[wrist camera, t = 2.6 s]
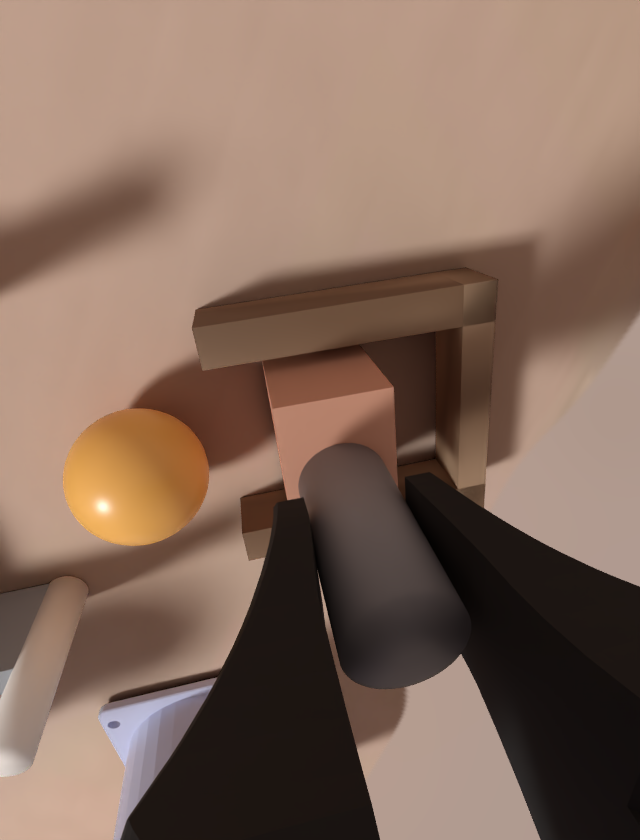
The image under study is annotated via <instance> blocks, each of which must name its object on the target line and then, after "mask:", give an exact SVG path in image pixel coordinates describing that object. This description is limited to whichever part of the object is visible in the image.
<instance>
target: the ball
mask: <svg viewBox="0 0 640 840" xmlns="http://www.w3.org/2000/svg"><path fill="white" fill-rule="evenodd" d="M208 482H209V465H208V460H207V456H206V453H205V451H204V448H203V446H202V444H201V442H200V440H199V439H198V438H197V436H196V435H195V434H194V432H193V431H192V430H191V429H190V428H189V427H188V426H187V425H185V424H184V423H183V422H182V421H180V420H178V419H177V418H175V417H173V416H171V415H169V414H166V413H164V412H161V411H157V410H152V409H144V408H133V409H125V410H121V411H117V412H114V413H111V414H109V415H106V416H104V417H102V418H100V419H99V420H97V421H96V422H94V423H93V424H91V425H90V426H89V427H88V428H87V429H86V430H85V431H83V432H82V433H81V435H80V436H79V437H78V439H77V440H76V441H75V443H74V444H73V446H72V448H71V449H70V451H69V454H68V456H67V459H66V462H65V467H64V473H63V487H64V493H65V498H66V500H67V503H68V506H69V508H70V510H71V512H72V513H73V515H74V516H75V518H76V519H77V520H78V521H79V523H80V524H81V525H82V526H83V527H84V528H85V529H87V530H88V531H89V532H90V533H92V534H93V535H95V536H97V537H99V538H101V539H103V540H105V541H108V542H111V543H115V544H119V545H128V546H139V545H147V544H152V543H156V542H159V541H161V540H164V539H166V538H168V537H170V536H172V535H174V534H175V533H177V532H178V531H180V530H181V529H182V528H183V527H184V526H186V525H187V524H188V523H189V522H190V521H191V520H192V518H193V517H194V516H195V515H196V513H197V512H198V510H199V509H200V507H201V505H202V503H203V501H204V498H205V496H206V492H207V489H208Z"/></svg>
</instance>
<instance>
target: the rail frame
mask: <svg viewBox="0 0 640 840" xmlns="http://www.w3.org/2000/svg"><path fill="white" fill-rule="evenodd" d="M497 286H498V279H495V278H493V277H490V276H487V275H485V274H482V273H479V272H477V271H474V270H471V269H469V268H460V269H453V270H447V271H441V272H434V273H428V274H421V275H415V276H409V277H402V278H396V279H389V280H383V281H377V282H370V283H364V284H357V285H351V286H344V287H338V288H332V289H325V290H319V291H312V292H306V293H300V294H293V295H287V296H280V297H274V298H267V299H261V300H255V301H248V302H242V303H235V304H229V305H223V306H216V307H210V308H203V309H197V310H196V311H195V316H194V321H193V326H192V331H193V335H194V339H195V343H196V347H197V351H198V355H199V359H200V363H201V367H202V371H205V370H211V369H217V368H222V367H228V366H234V365H240V364H246V363H252V362H258V361H264V360H270V359H276V358H281V357H287V356H293V355H299V354H305V353H311V352H317V351H323V350H329V349H334V348H340V347H346V346H352V345H358V344H364V343H370V342H376V341H382V340H388V339H393V338H399V337H405V336H411V335H417V334H423V333H429V332H435V331H436V459H433V460H428V461H423V462H418V463H413V464H408V465H403V466H398V467H397V476H398V489H399V490H400V492H401V494H402V496H403V497H404V499H405V477H407V476H412V475H417V474H422V473H427V472H430V473H432V474H433V475H435V476H437V477H438V478H439V479H441V480H442V481H444V482H445V483H447V484H448V485H450V486H451V487H453V488H454V489H456V490H457V491H458V492H460V493H461V494H463V495H464V496H466V497H467V498H469V499H470V500H472V501H473V502H475V503H476V504H478V505H479V506H481V507H482V508H484V496H485V480H486V464H487V448H488V431H489V415H490V399H491V383H492V367H493V350H494V334H495V318H496V302H497ZM240 499H241V517H242V534H243V538H244V542H245V546H246V551H247V555H248V559H249V561H250V560H254V559H259V558H264V557H266V553H267V549H268V546H269V541H270V536H271V530H272V524H273V507H274V506H275V505H276V503H277V502H282V501H287V496H286V491H285V489H283V490H278V491H273V492H268V493H263V494H258V495H253V496H248V497H243V498H240ZM405 501H406V500H405Z"/></svg>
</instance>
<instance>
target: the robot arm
mask: <svg viewBox="0 0 640 840" xmlns="http://www.w3.org/2000/svg"><path fill="white" fill-rule="evenodd" d="M405 500H406V503H407V505H408V506H409V508H410V510H411V512H412V513H413V515H414V517H415V519H416V521H417V522H418V524H419V526H420V528H421V529H422V531H423V533H424V535H425V537H426V538H427V540H428V542H429V544H430V545H431V547H432V549H433V551H434V553H435V554H436V556H437V558H438V560H439V561H440V563H441V565H442V567H443V569H444V570H445V572H446V574H447V576H448V577H449V579H450V581H451V583H452V585H453V586H454V588H455V590H456V592H457V594H458V595H459V597H460V599H461V601H462V602H463V604H464V606H465V608H466V610H467V611H468V613H469V616H470V619H471V634H470V638H469V641H468V643H467V645H466V647H465V648H464V650H463V651H462V653H461V654H462V656H463V658H464V660H465V662H466V663H467V665H468V667H469V669H470V671H471V673H472V675H473V677H474V679H475V681H476V683H477V685H478V688H479V690H480V692H481V695H482V697H483V699H484V702H485V704H486V706H487V709H488V711H489V713H490V715H491V718H492V720H493V723H494V725H495V727H496V729H497V732H498V734H499V737H500V739H501V741H502V744H503V746H504V749H505V751H506V754H507V756H508V759H509V761H510V763H511V766H512V768H513V771H514V773H515V776H516V778H517V780H518V783H519V785H520V788H521V791H522V793H523V796H524V798H525V801H526V803H527V806H528V808H529V811H530V814H531V816H532V819H533V821H534V824H535V826H536V829H537V831H538V834H539V836H540V839H541V840H640V587H639V586H636V585H634V584H631V583H629V582H626V581H624V580H621V579H619V578H616V577H614V576H611V575H609V574H607V573H604V572H602V571H599V570H597V569H595V568H593V567H590V566H588V565H586V564H584V563H582V562H580V561H578V560H576V559H574V558H571V557H569V556H567V555H565V554H563V553H561V552H559V551H557V550H555V549H553V548H551V547H549V546H547V545H545V544H543V543H541V542H540V541H538V540H536V539H534V538H532V537H531V536H529V535H527V534H525V533H524V532H522V531H520V530H518V529H517V528H515V527H513V526H511V525H510V524H508V523H506V522H505V521H503V520H501V519H500V518H498V517H497V516H495V515H493V514H492V513H490V512H489V511H487V510H486V509H484V508H482V507H481V506H479V505H478V504H476V503H475V502H473V501H472V500H470V499H469V498H467V497H466V496H464V495H463V494H461V493H460V492H458V491H457V490H456V489H454V488H453V487H451V486H450V485H448V484H447V483H445V482H444V481H442V480H441V479H439V478H438V477H437V476H435V475H433V474H432V473H430V472H427V473H422V474H417V475H412V476H407V477H405ZM98 718H99V721H100V723H101V725H102V726H103V728H104V730H105V732H106V734H107V735H108V737H109V739H110V741H111V742H112V744H113V746H114V748H115V749H116V751H117V753H118V755H119V757H120V758H121V760H122V762H123V764H124V765H125V773H124V779H123V785H122V791H121V797H120V803H119V809H118V815H117V821H116V827H115V833H114V839H113V840H380V838H379V833H378V829H377V825H376V820H375V816H374V812H373V808H372V804H371V800H370V796H369V793H368V789H367V785H366V782H365V778H364V774H363V771H362V767H361V763H360V759H359V756H358V752H357V748H356V744H355V741H354V737H353V733H352V729H351V726H350V722H349V718H348V714H347V710H346V707H345V703H344V699H343V695H342V691H341V687H340V683H339V679H338V675H337V672H336V668H335V664H334V660H333V656H332V652H331V648H330V644H329V639H328V635H327V631H326V627H325V620H324V612H323V604H322V597H321V591H320V584H319V578H318V571H317V566H316V558H315V552H314V545H313V538H312V532H311V525H310V519H309V514H308V510H307V507H306V504H305V501H304V498H303V497H302V498H297V499H292V500H287V501H282V502H277V503H276V505H275V506H274V507H273V524H272V530H271V536H270V541H269V546H268V549H267V553H266V557H265V561H264V565H263V569H262V572H261V575H260V578H259V581H258V584H257V587H256V590H255V593H254V596H253V599H252V602H251V605H250V607H249V610H248V612H247V615H246V617H245V620H244V622H243V625H242V627H241V629H240V632H239V634H238V636H237V638H236V641H235V643H234V645H233V647H232V649H231V651H230V653H229V655H228V657H227V659H226V661H225V663H224V665H223V667H222V669H221V671H220V673H219V675H218V677H216V678H212V679H208V680H203V681H199V682H195V683H191V684H187V685H182V686H178V687H174V688H170V689H166V690H161V691H157V692H153V693H149V694H145V695H140V696H136V697H132V698H128V699H124V700H119V701H115V702H111V703H108V704H105V705H104V706H102V707H101V709H100V712H99V716H98Z"/></svg>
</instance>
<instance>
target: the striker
mask: <svg viewBox="0 0 640 840" xmlns="http://www.w3.org/2000/svg"><path fill="white" fill-rule="evenodd" d="M262 364H263V369H264V375H265V380H266V386H267V392H268V397H269V403H270V408H271V414H272V419H273V425H274V430H275V436H276V441H277V447H278V453H279V458H280V464H281V469H282V475H283V480H284V486H285V491H286V496H287V500H292V499H297V498H302V497H303V498H304V501H305V504H306V507H307V510H308V514H309V519H310V525H311V532H312V538H313V545H314V552H315V558H316V566H317V570H318V574H319V578H320V582H321V586H322V591H323V595H324V599H325V603H326V607H327V611H328V616H329V620H330V624H331V628H332V632H333V636H334V641H335V645H336V649H337V653H338V657H339V661H340V665H341V667H342V670H343V671H344V673H345V674H346V675H347V676H348V677H349V678H350V679H351V680H353V681H354V682H356V683H358V684H360V685H363V686H366V687H370V688H376V689H395V688H402V687H407V686H410V685H414V684H417V683H419V682H422V681H425V680H427V679H429V678H431V677H433V676H435V675H436V674H438V673H440V672H441V671H443V670H444V669H446V668H447V667H448V666H449V665H450V664H452V663H453V662H454V661H455V660H456V659H457V657H458V656H459V655H460V654H461V653H462V651H463V650H464V648H465V647H466V645H467V643H468V641H469V638H470V634H471V619H470V616H469V613H468V611H467V610H466V608H465V606H464V604H463V602H462V601H461V599H460V597H459V595H458V594H457V592H456V590H455V588H454V586H453V585H452V583H451V581H450V579H449V577H448V576H447V574H446V572H445V570H444V569H443V567H442V565H441V563H440V561H439V560H438V558H437V556H436V554H435V553H434V551H433V549H432V547H431V545H430V544H429V542H428V540H427V538H426V537H425V535H424V533H423V531H422V529H421V528H420V526H419V524H418V522H417V521H416V519H415V517H414V515H413V513H412V512H411V510H410V508H409V506H408V505H407V503H406V501H405V499H404V497H403V496H402V494H401V492H400V490H399V489H398V476H397V453H396V430H395V407H394V387H393V386H392V384H391V383H390V382H389V381H388V380H387V378H386V377H385V376H384V375H383V373H382V372H381V371H380V370H379V368H378V367H377V366H376V365H375V363H374V362H373V361H372V360H371V359H370V357H369V356H368V355H367V354H366V352H365V351H364V350H363V349H362V347H361V346H360V345H359V344H358V345H352V346H346V347H340V348H334V349H329V350H323V351H317V352H311V353H305V354H299V355H293V356H287V357H281V358H276V359H270V360H264V361H262Z"/></svg>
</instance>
